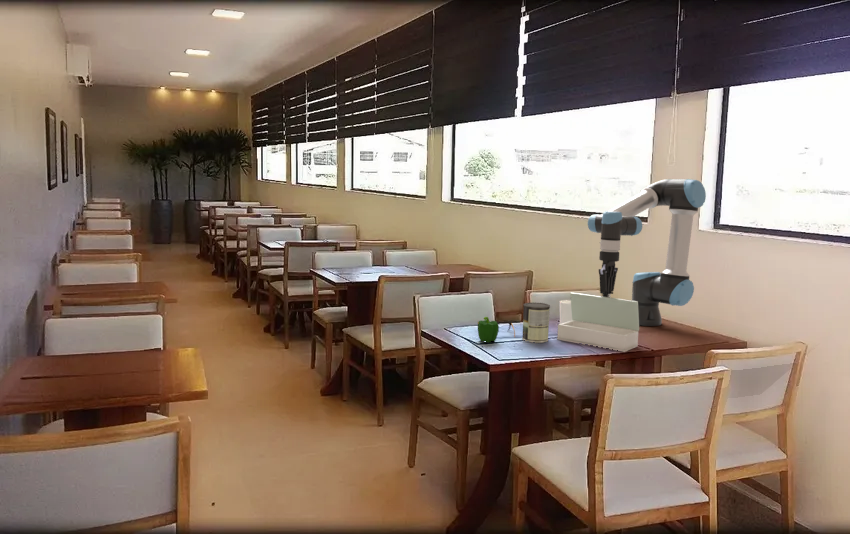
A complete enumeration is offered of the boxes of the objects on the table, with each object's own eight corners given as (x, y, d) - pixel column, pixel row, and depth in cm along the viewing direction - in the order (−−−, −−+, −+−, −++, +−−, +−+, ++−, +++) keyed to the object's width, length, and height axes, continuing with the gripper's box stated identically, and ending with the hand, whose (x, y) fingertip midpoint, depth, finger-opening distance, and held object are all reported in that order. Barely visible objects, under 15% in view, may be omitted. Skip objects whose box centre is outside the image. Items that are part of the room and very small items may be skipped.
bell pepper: (488, 338, 271) (489, 313, 270) (502, 342, 264) (503, 317, 263) (471, 340, 267) (472, 315, 265) (485, 344, 260) (486, 319, 259)
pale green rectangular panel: (572, 320, 280) (573, 318, 281) (638, 330, 263) (639, 329, 264) (570, 293, 276) (571, 291, 277) (637, 302, 259) (638, 300, 260)
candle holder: (574, 326, 296) (575, 299, 295) (586, 331, 287) (587, 303, 286) (553, 327, 293) (555, 300, 292) (565, 332, 284) (566, 304, 283)
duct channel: (571, 334, 281) (572, 320, 280) (637, 346, 263) (638, 331, 263) (557, 339, 272) (558, 324, 271) (624, 351, 254) (625, 336, 253)
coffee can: (516, 339, 270) (518, 304, 268) (532, 335, 277) (533, 301, 276) (537, 344, 263) (539, 308, 261) (553, 340, 270) (555, 305, 268)
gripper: (607, 249, 276) (603, 306, 279) (593, 250, 266) (589, 310, 269) (625, 250, 271) (621, 309, 274) (611, 252, 261) (607, 313, 264)
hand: (605, 309), depth 271 cm, fingers closed
